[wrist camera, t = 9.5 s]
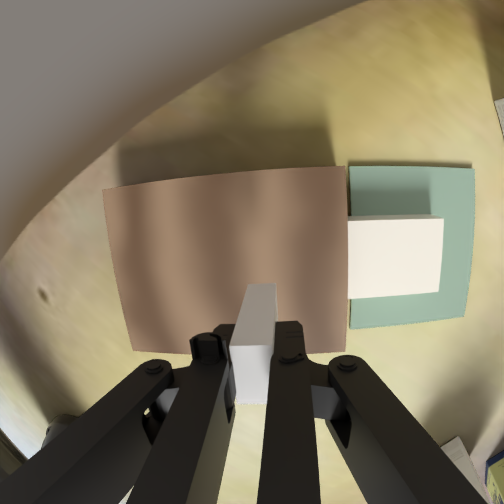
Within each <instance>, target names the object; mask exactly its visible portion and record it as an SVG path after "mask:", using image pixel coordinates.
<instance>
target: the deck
mask: <svg viewBox="0 0 504 504" xmlns="http://www.w3.org/2000/svg"><path fill="white" fill-rule="evenodd" d="M102 192H103V201H104V209H105V217H106V224H107V231H108V237H109V243H110V249H111V255H112V261H113V266H114V272H115V277H116V282H117V286H118V291H119V296H120V300H121V305H122V309H123V313H124V318H125V322H126V326H127V330H128V334H129V337H130V341H131V345H132V349H133V351H143V352H157V353H173V354H192V353H191V348H190V342H189V340H190V339H191V338H192V337H193V336H195V335H197V334H201V333H205V332H213V330H214V329H215V328H216V327H217V326H218V325H220V324H236V322H237V319H238V316H239V312H240V309H241V306H242V303H243V299H244V296H245V293H246V290H247V286H248V284H263V283H276V291H277V308H278V321H298V322H299V323H301V324H302V325H303V333H304V341H305V350H306V354H314V353H331V352H345V347H346V329H347V305H348V215H347V190H346V172H345V166H325V167H302V168H284V169H269V170H256V171H244V172H232V173H222V174H212V175H203V176H194V177H186V178H177V179H170V180H162V181H155V182H148V183H141V184H134V185H128V186H122V187H116V188H110V189H104V190H102Z"/></svg>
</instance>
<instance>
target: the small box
mask: <svg viewBox="0 0 504 504" xmlns="http://www.w3.org/2000/svg"><path fill="white" fill-rule="evenodd" d="M494 103H495V106H496V110H497V113H498V117H499V120H500V124H501V127H502V131H503V135H504V98H502V99H499V100H496V101H494Z"/></svg>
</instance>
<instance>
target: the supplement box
mask: <svg viewBox="0 0 504 504" xmlns="http://www.w3.org/2000/svg"><path fill="white" fill-rule="evenodd" d="M440 448H441V449H442V450H443V451H444V453H445V454H446V455H447V456H448V457H449V458H450V460H451V461H452V462H453V463H454V464H455V465H456V467H457V468H458V469H459V470H460V471H461V473H462V474H463V475H464V476H465V477H466V478H467V480H468V481H469V482H470V483H471V484H472V486H473V487H474V488H475V489H476V490H477V491H478V493H479V494H480V495H481V496H482V497H483V499H484V500H485V501H486V502H487V503H488V504H490V502H489V500H488V497H487V495H486V492H485V490H484V487H483V485H482V483H481V481H480V478H479V476H478V474H477V472H476V469H475V467H474V465H473V463H472V461H471V459H470V457H469V455H468V453H467V451H466V449H465V447H464V445H463V443H462V441H461V439H460V437H459V436H457V437H456V438H454V439H453V440H451V441H450V442H448V443H447V444H445V445H443V446H442V447H440Z"/></svg>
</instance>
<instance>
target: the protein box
mask: <svg viewBox="0 0 504 504" xmlns="http://www.w3.org/2000/svg"><path fill="white" fill-rule="evenodd" d="M485 485H486V487H487V490H488V492H489V494H490V496H491V499H492V501H493V504H504V450H503V451H502V452H500V453H499V454H497V455H496V456H494V457H493V458H491V459H489V460H488V461H486V473H485Z"/></svg>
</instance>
